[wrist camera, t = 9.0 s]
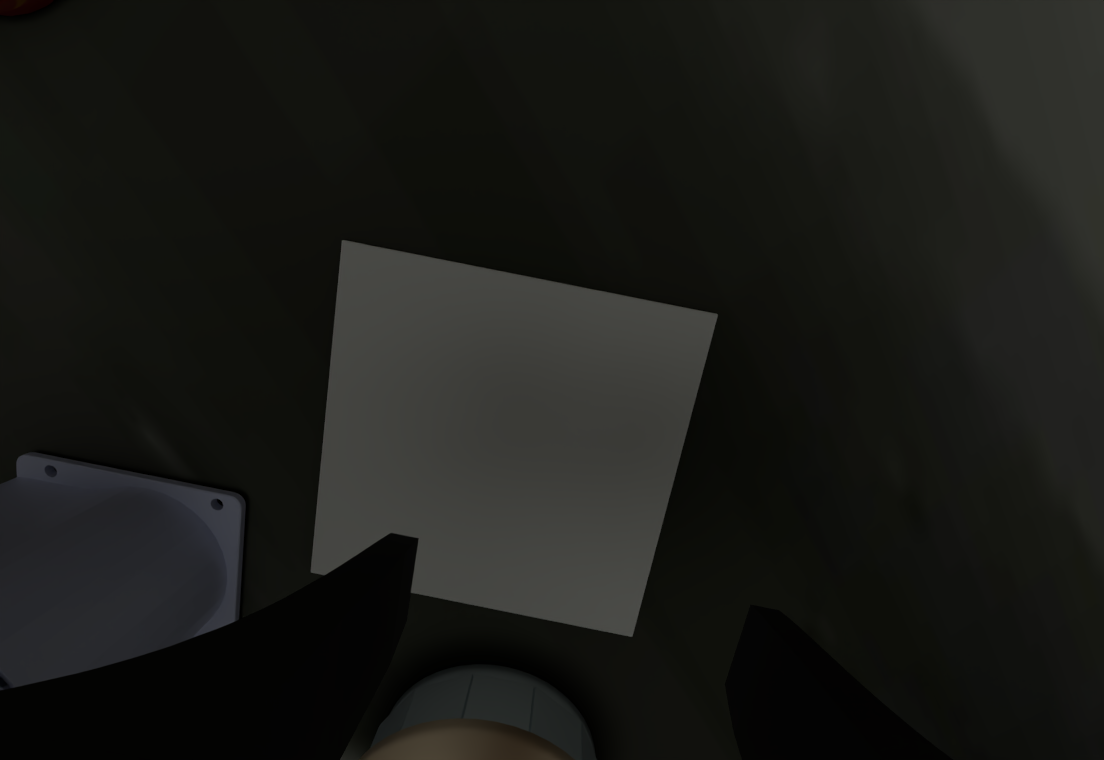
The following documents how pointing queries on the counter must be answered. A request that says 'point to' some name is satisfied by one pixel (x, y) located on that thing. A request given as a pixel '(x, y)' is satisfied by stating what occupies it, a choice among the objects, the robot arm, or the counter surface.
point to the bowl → (493, 705)
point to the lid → (464, 743)
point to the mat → (504, 432)
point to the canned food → (21, 6)
